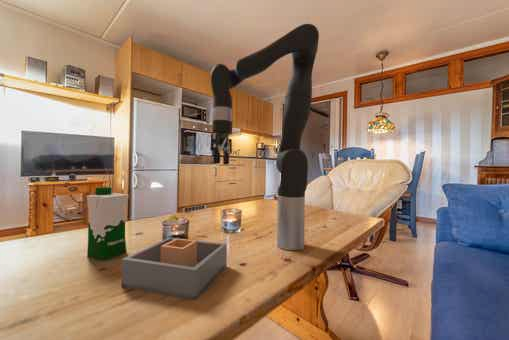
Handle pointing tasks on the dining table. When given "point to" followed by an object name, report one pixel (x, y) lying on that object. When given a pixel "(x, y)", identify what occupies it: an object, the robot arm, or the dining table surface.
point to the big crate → (174, 270)
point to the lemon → (173, 217)
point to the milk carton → (106, 224)
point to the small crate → (180, 252)
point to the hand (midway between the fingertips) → (221, 164)
